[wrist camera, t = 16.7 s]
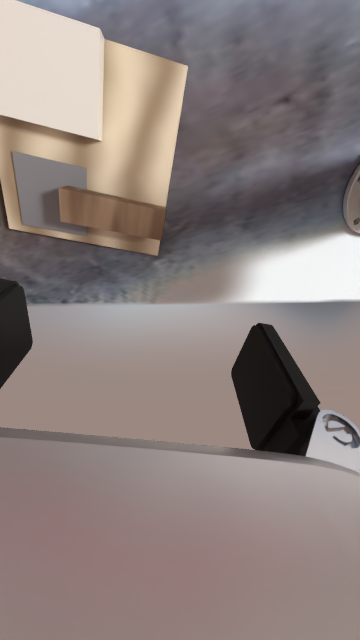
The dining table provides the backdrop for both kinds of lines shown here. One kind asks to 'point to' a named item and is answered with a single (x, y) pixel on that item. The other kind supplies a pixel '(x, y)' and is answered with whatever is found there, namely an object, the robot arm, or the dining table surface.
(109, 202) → the brown wooden block
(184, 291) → the dining table surface
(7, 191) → the board
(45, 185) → the mat
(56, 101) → the tile
